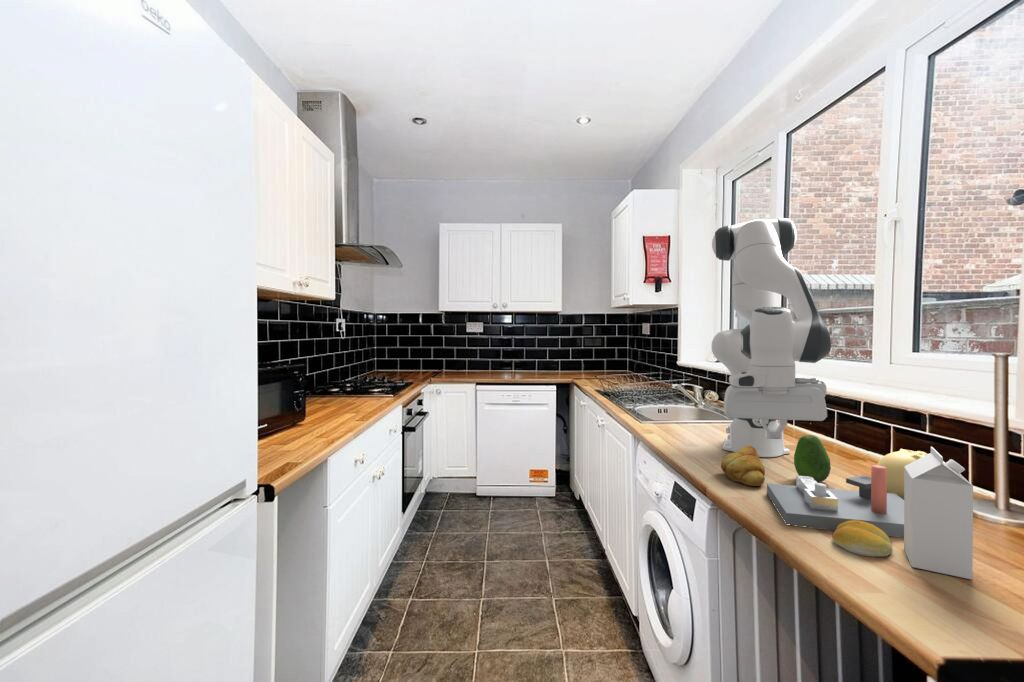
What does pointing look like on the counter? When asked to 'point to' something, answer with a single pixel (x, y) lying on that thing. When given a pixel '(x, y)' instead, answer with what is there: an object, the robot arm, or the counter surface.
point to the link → (816, 502)
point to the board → (849, 507)
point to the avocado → (811, 458)
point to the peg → (879, 489)
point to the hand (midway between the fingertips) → (773, 438)
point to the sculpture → (898, 468)
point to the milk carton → (938, 516)
